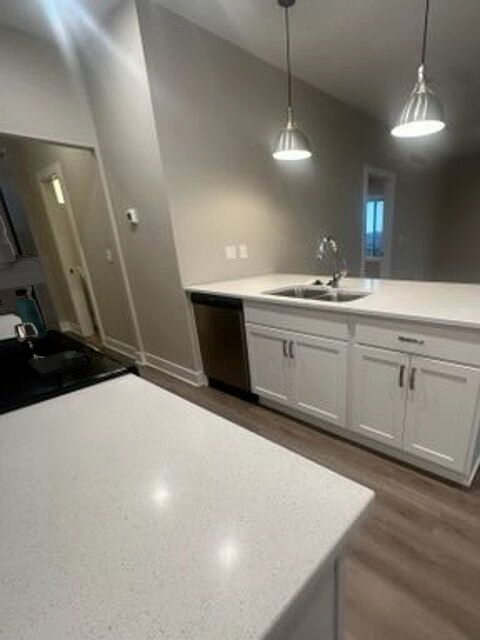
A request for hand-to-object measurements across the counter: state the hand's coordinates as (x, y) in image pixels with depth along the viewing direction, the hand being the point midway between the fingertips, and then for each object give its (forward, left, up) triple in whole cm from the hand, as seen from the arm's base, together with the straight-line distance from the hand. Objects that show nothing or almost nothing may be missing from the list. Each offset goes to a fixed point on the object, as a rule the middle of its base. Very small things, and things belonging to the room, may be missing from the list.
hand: (14, 302), depth 107 cm
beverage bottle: (+7, +24, -19) cm, 32 cm away
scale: (+3, -13, -19) cm, 23 cm away
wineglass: (0, 0, -19) cm, 19 cm away
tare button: (+6, -18, -17) cm, 25 cm away
